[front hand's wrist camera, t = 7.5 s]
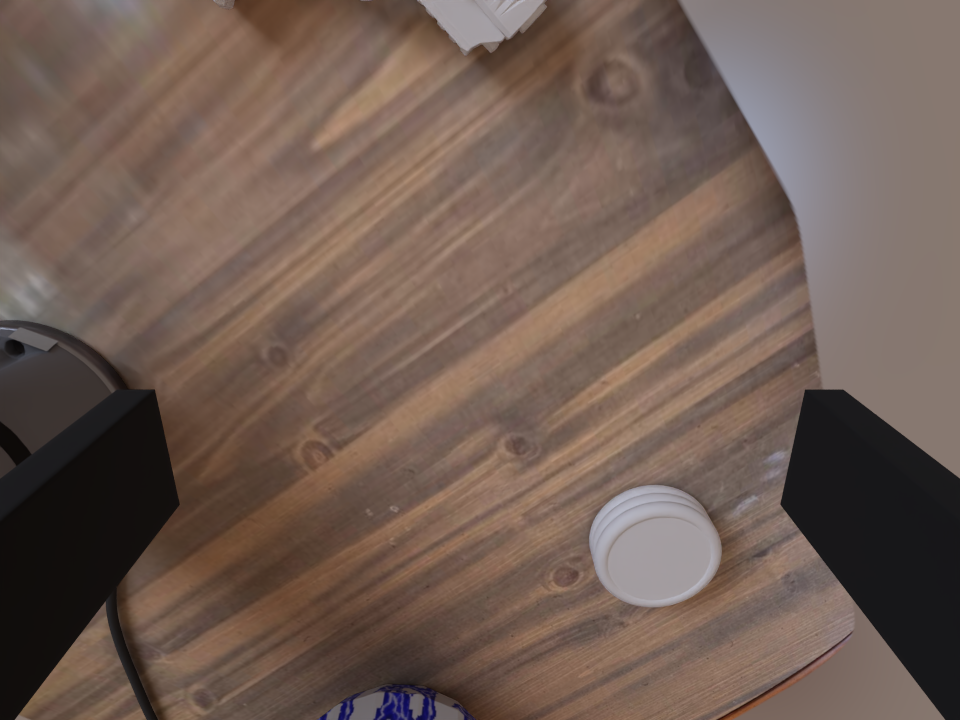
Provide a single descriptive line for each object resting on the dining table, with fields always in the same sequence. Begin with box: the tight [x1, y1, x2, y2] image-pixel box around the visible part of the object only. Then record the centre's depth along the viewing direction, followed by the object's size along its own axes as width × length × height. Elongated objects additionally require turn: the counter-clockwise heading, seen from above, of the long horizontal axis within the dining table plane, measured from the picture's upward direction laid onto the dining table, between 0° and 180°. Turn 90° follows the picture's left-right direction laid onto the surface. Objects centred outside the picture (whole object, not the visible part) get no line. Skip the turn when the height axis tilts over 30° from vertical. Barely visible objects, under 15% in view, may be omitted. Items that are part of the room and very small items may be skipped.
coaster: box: [589, 485, 722, 607], centre depth 50 cm, size 10×10×4 cm
